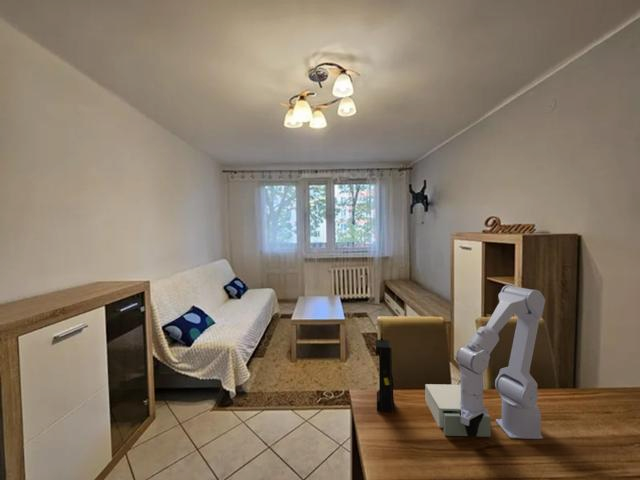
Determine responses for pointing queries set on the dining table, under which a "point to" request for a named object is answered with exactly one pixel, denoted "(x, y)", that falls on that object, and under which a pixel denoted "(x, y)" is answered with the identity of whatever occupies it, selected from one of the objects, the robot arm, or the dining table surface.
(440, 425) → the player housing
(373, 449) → the dining table surface
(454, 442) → the dining table surface
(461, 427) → the grey green drawer
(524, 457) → the dining table surface
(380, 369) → the portable radio
